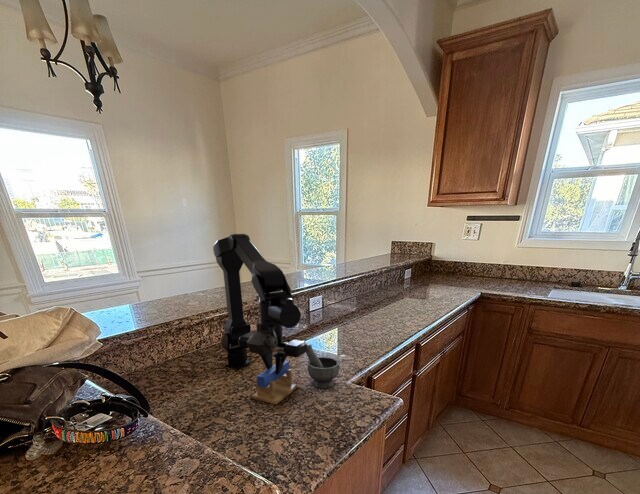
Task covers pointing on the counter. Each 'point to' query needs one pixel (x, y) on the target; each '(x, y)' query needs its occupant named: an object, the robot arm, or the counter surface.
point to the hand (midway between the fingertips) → (274, 373)
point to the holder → (275, 389)
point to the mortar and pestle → (321, 368)
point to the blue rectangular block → (271, 375)
